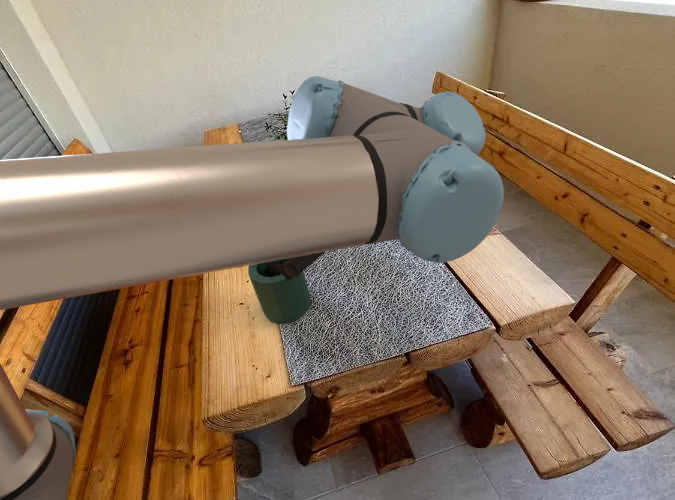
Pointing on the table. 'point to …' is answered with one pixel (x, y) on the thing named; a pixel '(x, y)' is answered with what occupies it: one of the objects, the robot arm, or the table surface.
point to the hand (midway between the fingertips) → (308, 249)
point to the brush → (274, 267)
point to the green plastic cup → (280, 293)
